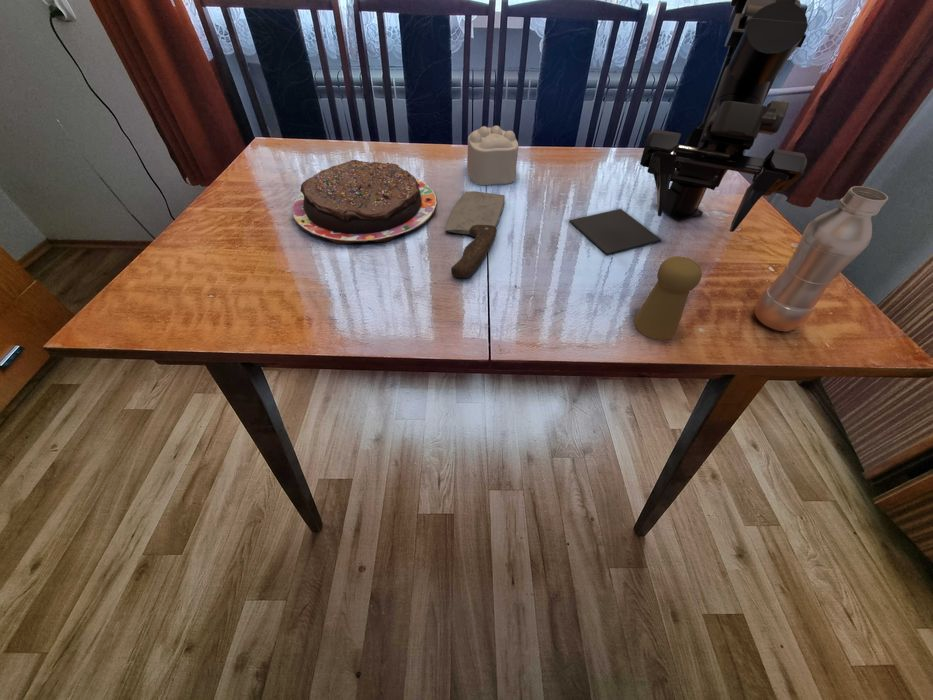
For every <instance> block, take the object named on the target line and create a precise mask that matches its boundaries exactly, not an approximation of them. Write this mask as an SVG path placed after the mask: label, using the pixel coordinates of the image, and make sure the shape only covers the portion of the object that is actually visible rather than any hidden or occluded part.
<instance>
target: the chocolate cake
mask: <svg viewBox="0 0 933 700" xmlns="http://www.w3.org/2000/svg"><path fill="white" fill-rule="evenodd" d="M299 191H300V192H301V193H299V194H298V196H297V197H296V198H295V199H294V201H293V204H292V207H291V209H292V211H291V212H292V216H293V220H294V221H295V223H296V224H297V225H298V226H299V227H300V228H301V229H302V230H305V231H306V232H308V233H310V234H312V235H314V236H317V237H321V238H324V239H327V240H329V241H331V242H332V243H334V244H336V245H348V244H354V243H359V244H364V243H367V242H371V241H373V242H375V243H378V242H381V243H388V242H390V241H392V240H393V239H395V238H396V237H398V236H400V235H404V234H406V233H408V232H411V231H413V230H415V229H418V228H419V227H420V226H422V225H423V224H425V223H426V222H427V221H428V220H429V219H430V218H431V217H434V215H435V212H436V209H437V204H438V202H437V196H436V194H435V192H434V190H433V188H432V187H430V186H429V184H427V183H426V182H424V181H423V180H420V179H419V178H417V177H415V176H414V175H413V174H411V172H409V171H408V170H406V169H404V168H402V167H400V166H399V164H397V163H393V162H391V163H390V162H386V163H384V162H381V161H372V162H370V161H363V160H358V159H351V160H349V161H346V162H343V163H339V164H336V165H333V166H330V167H328V168H325V169H321V170H320V171H319V172H317V173H316V174H313V176H311V177H309V178H307V179H305V180H304V181H302V183H301V184H300V190H299Z"/></svg>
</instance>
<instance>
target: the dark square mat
mask: <svg viewBox="0 0 933 700" xmlns="http://www.w3.org/2000/svg"><path fill="white" fill-rule="evenodd" d="M569 223H570V224H571V225H572V226H573V227H575V229H576V230H578V231H579V232H580V233H581V234H582V235H583V236H584V237H585V238H587V239H588V240H589V241H590V242H591V243H592V244H593V245H594V246H596V247H597V248H598V249H599V250H600V251H601V252H602V253H603V254H604V255H605V256H608V255H613V254H617V253H622V252H625V251H628V250H633V249H637V248H640V247H645V246H647V245H648V246H649V245H652V244H656V243H659V242H661V241H662V239H661V238H660V237H659V236H658V235H656V234H655V233H653V232H652V231H651V230H650V229H648V228H647V227H646V226H644V225H643V224H641V222H639V221H638V220H637V219H635V218H634V217H632V216H631V215H630V214H629V213H627V212H626V211H625V210H623V209H622V208H618V209H614V210H609V211H605V212H600V213H596V214H592V215H586V216H582V217H578V218H573V219H570V220H569Z"/></svg>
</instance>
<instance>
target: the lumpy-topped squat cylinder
mask: <svg viewBox="0 0 933 700" xmlns="http://www.w3.org/2000/svg"><path fill="white" fill-rule="evenodd" d="M518 154H519V141H518V140H517V137H516V134H515V132H514V131H512V130H507V131H506V130H503V129H502V128H501V127H500V126H499V125H493V126H491V127H488V126H486V125H483V126H481V127H480V128H478V129H476V130H473V131H472V132H471V133H470V134H469V135H468V137H467V161H466V162H467V163H466V164H467V166H466V167H467V169H466V170H467V175H468V177H469V179H470V180H471V181H472V182H473V183H474V184H476V185H479V186H491V185H509V184H512V183H514V182H515V180H516V173H517V164H518Z"/></svg>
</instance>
